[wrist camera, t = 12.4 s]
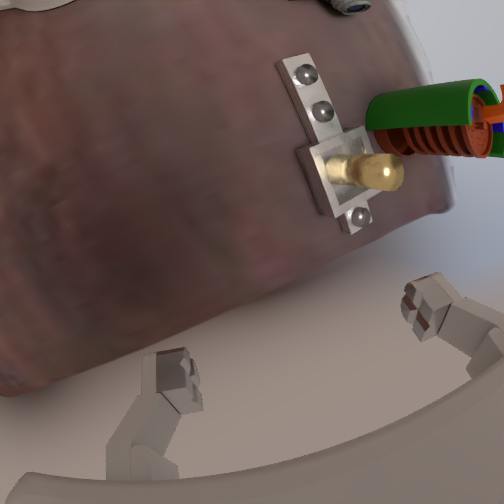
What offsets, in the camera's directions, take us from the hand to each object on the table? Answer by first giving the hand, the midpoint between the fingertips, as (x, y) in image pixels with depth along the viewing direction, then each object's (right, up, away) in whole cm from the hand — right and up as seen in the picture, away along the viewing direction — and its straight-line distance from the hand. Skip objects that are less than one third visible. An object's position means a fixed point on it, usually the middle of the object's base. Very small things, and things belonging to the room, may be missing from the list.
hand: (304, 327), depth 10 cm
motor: (+17, +20, +26) cm, 37 cm away
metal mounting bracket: (+7, +15, +23) cm, 28 cm away
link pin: (+8, +12, +23) cm, 27 cm away
